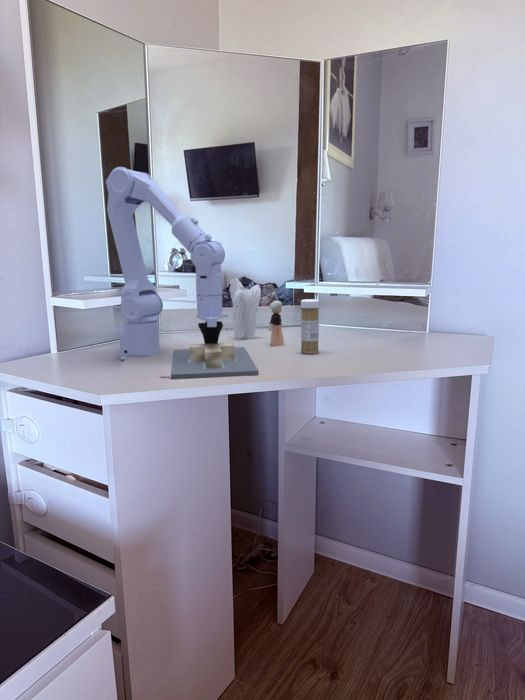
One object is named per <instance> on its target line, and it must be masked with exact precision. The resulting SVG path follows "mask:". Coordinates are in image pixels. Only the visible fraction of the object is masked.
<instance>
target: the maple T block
mask: <svg viewBox="0 0 525 700" xmlns="http://www.w3.org/2000/svg"><path fill="white" fill-rule="evenodd" d="M188 346H189V349H190V363H194V362H205V366H206V369H212V368H222V361H235V354H234V347H235V344H234V342H221V343H219V342H218V343H215V344H205V343H193V344H192V343H191V344H189V345H188Z"/></svg>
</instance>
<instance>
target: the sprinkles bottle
mask: <svg viewBox="0 0 525 700" xmlns="http://www.w3.org/2000/svg"><path fill="white" fill-rule="evenodd" d="M300 309H301V320H300V323H301V325H300V326H301V328H300V340H301V342H300V343H301V349H300V352H301V353H302V354H304V355H317V354H319V335H320V334H319V332H320V321H319V310H320V300H319V299H313V298H312V299H310V298H305V299H301V300H300Z"/></svg>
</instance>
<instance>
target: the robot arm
mask: <svg viewBox="0 0 525 700" xmlns="http://www.w3.org/2000/svg"><path fill="white" fill-rule="evenodd" d="M105 185H106V189H107V194H108V196H107V207H106V209H107V215H108V216H107V217H108V219H109V223H110V227H111V232H112V235H113V240H114V243H115V247H116V251H117V255H118V259H119V264H120V267H121V272H122V275H123V276H122V277H123V279H124V286H123V287H122V288H121V290H120V297H121V298H120V300H121V301H120V312H121V314H122V316H123V317H124V318H125V320H126V321H120V322H119V325H118V335H119V339H118V340H119V352H120V361H124V360H125V361H126V358H127V357H129V356H131V357H133V356H135V357H136V356H138V357H140V356H141V357H142V356H143V357H144V356H153V355H158V354H159V353H160V351H161V349H160V333H159V332H160V331H159V330H160V329H159V319H160V316H159V315H161V313H162V312H163V309H164V302H163V299H162V297H161V295H159V293H158V290H157V287H156V285H154V283H153V282H151V281H150V279H149V278H148V274H147V269H146V266H145V261H144V257H143V252H142V248H141V245H140V240H139V237H138V233H137V228H136V224H135V220H134V216H133V215H134V214H135V212H136V211H137V209H138V208H139V207H140V206H141V205H143V204H144V203H145V202H147V203H148V204H149V205H151V207H152V208H153V209H154V210H155V211H156V212H157V213H159V215H161V216H162V218H163V219H164V220H165V221H167V222H168V223H169V225H171V234H172V235H173V237H174V238H176V240H177V241H178V242H179V243H180V244H181V245H182V246H183V247H184V248H185V250H186V251H187V252H188V254H190V261H191V262H192V264H193V265H194V267H195V273H196V276H195V277H196V279H195V280H196V303H197V304H196V305H197V306H196V307H197V309H196V310H197V314H196V318H197V319H199V320H202V321H205V322H199V323H198V325H197V326H198V328H199V331H201V334H202V338H203V341H204V343H203V344H215V343H219V337H220V334H221V331H222V330H223V327H224V325H223V322H222V321H220V320H221V319H223V318H228V312H227V313H225V312H224V313H223V291H222V290H223V288H222V287H223V284H222V283H223V282H222V280H223V279H222V276H223V275H222V264H223V263H224V261H225V258H226V252H225V249H224V247H223V245H222V243H220V242H219V241H217V240H212V238H213V237H212V236H211V235H210V233H209V234H207V233H206V232H205V230H204V229H202V227H201V226H200V225H199V220H198V219H197V218H195V217H191V216H190V215H183V214H182V213H181V212H180V211H179V209H178V208H177V207H176V206H175V205H174V203H173V201H171V200H170V199H169V197H168V196H167V194H166V193H165V192H164V191H163V190H162V188H161V187H160V186H159V183H158V182H157V181H155V179H153V178H152V176H151V175H149V174H148V173H147V172H143V171H137V170H132V169H128V168H127V167H123V166H117V167H115V168H113V170H112V171H110V173H109V175H108V177H107V179H106V180H105Z"/></svg>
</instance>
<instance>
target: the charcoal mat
mask: <svg viewBox="0 0 525 700" xmlns="http://www.w3.org/2000/svg"><path fill="white" fill-rule="evenodd" d="M234 354H235V361H222V368H212V369H206V366H205V362H194V363H190V348H188V349H187V348H183V349H173V354H172V362H171V370H170V380H188V379H189V380H190V379H206V378H210V379H211V378H227V377H249V376H250V377H251V376H259V374H260V373H259V369H258V367H257V365H256V364H255V363H254V360H253V358H252V357H251V356H250V355H249V353H248V351H247V349H246V347H245V346H237V347H236V346H234Z"/></svg>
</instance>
